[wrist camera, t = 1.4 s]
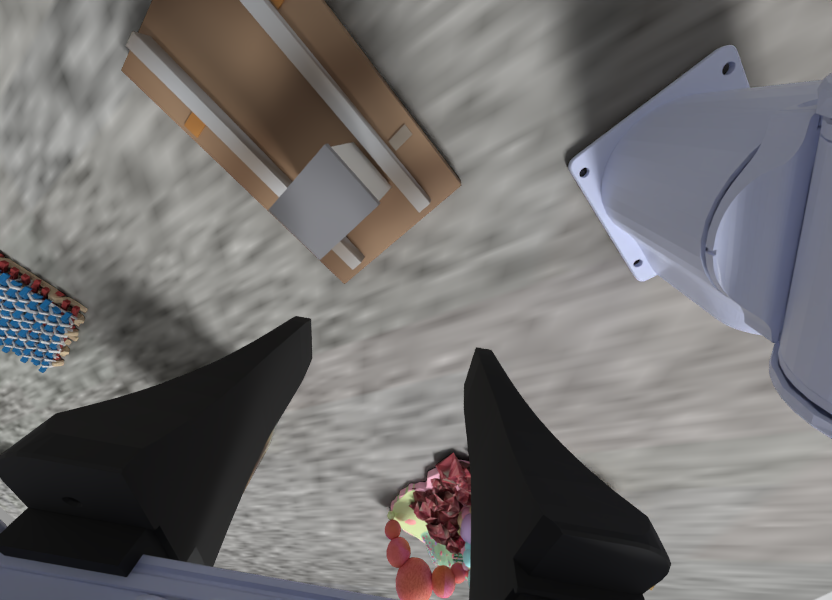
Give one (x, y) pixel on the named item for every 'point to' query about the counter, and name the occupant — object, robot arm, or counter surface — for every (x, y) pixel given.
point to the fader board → (287, 106)
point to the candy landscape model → (433, 531)
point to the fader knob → (330, 197)
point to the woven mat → (35, 317)
